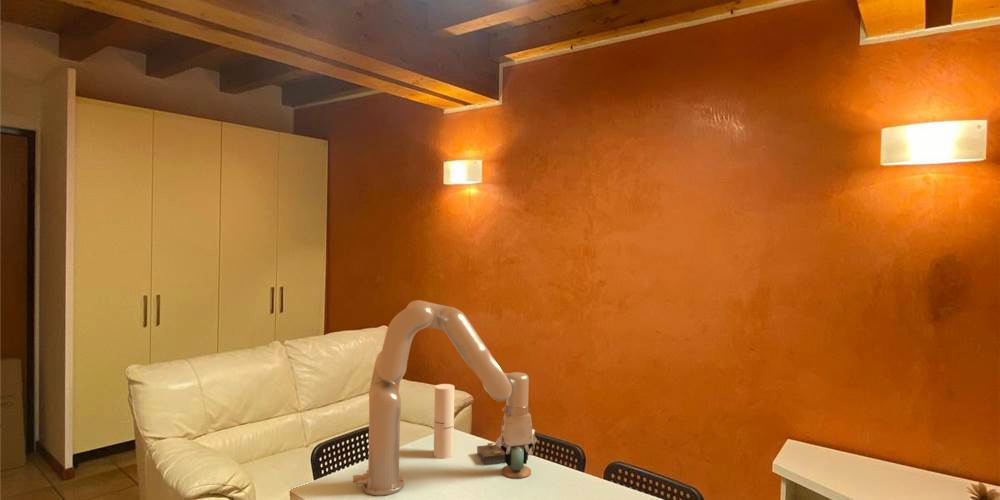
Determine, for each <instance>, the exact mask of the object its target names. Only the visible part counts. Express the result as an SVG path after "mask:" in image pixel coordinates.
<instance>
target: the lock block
mask: <svg viewBox="0 0 1000 500" xmlns="http://www.w3.org/2000/svg"><path fill="white" fill-rule="evenodd" d="M501 444H502V445H504V446H505V444H504V443H501ZM476 449H477V451H476V453H477V454H476V455H477V456H478V458H479V459H480V461H481V463H482V464H483V465H484V466H492V465H499V464H501V463H502V464H506V463H505V452H504V451H503V450H502V449H501V448H500V447H498V446H497V445H496V444H495V442H490V443H489V442H488V443H487V445H477V446H476ZM502 464H501V465H502Z"/></svg>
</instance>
